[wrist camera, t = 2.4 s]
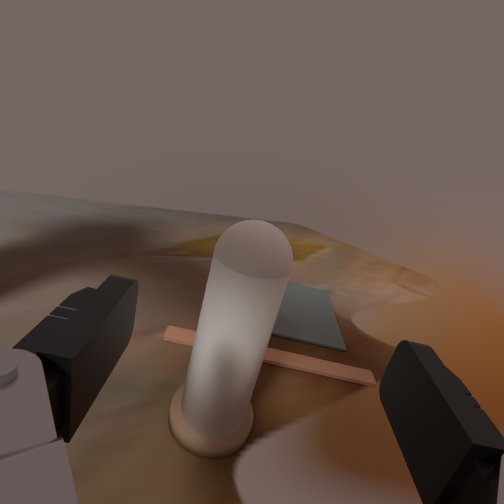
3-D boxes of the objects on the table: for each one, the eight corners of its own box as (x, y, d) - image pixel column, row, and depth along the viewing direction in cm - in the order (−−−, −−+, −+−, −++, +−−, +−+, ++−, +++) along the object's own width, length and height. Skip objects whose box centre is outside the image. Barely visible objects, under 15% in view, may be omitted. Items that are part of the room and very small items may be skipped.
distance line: (162, 339, 34) (163, 336, 34) (167, 328, 36) (168, 325, 36) (375, 387, 35) (376, 384, 35) (369, 373, 37) (371, 370, 37)
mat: (209, 320, 39) (210, 318, 39) (223, 268, 52) (224, 266, 52) (346, 351, 40) (346, 349, 40) (326, 292, 53) (326, 291, 53)
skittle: (157, 448, 24) (201, 226, 18) (179, 381, 30) (217, 197, 24) (248, 466, 24) (321, 255, 18) (251, 396, 30) (307, 220, 24)
